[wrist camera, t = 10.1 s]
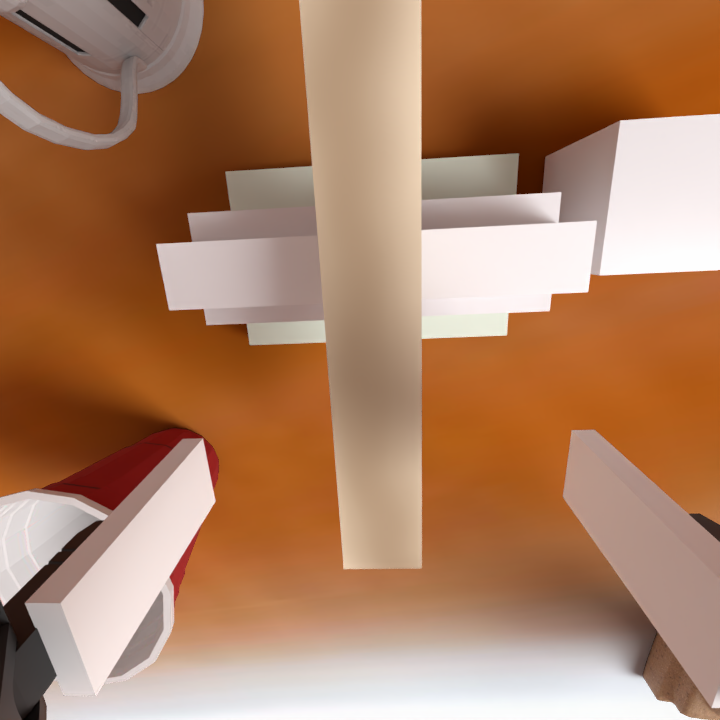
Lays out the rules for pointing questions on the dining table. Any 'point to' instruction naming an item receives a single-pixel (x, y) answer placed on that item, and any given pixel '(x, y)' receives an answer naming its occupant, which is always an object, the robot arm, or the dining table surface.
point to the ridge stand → (439, 253)
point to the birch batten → (370, 264)
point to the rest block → (644, 193)
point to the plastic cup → (76, 512)
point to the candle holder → (675, 683)
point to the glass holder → (106, 54)
